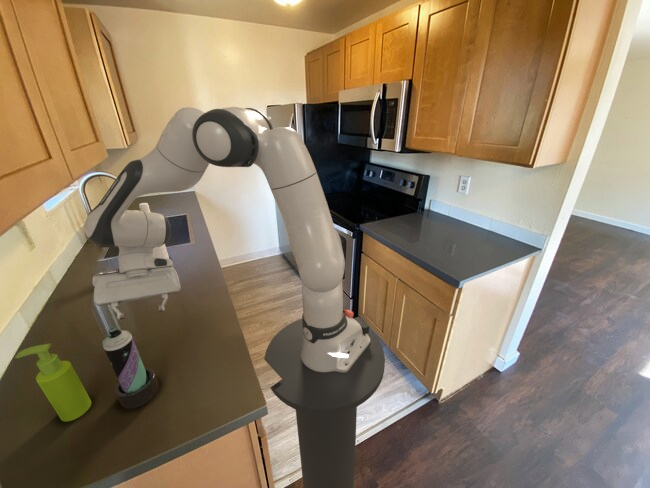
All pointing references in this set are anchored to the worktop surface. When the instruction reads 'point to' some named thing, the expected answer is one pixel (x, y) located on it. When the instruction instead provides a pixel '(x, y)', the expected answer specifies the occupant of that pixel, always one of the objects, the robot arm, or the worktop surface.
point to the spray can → (125, 360)
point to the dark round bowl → (138, 392)
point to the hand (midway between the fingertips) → (142, 315)
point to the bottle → (158, 251)
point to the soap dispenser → (59, 383)
